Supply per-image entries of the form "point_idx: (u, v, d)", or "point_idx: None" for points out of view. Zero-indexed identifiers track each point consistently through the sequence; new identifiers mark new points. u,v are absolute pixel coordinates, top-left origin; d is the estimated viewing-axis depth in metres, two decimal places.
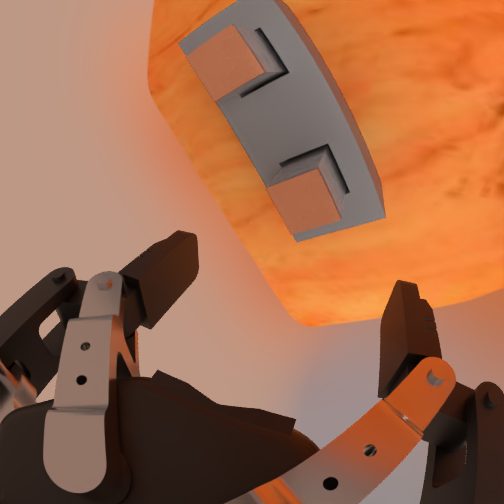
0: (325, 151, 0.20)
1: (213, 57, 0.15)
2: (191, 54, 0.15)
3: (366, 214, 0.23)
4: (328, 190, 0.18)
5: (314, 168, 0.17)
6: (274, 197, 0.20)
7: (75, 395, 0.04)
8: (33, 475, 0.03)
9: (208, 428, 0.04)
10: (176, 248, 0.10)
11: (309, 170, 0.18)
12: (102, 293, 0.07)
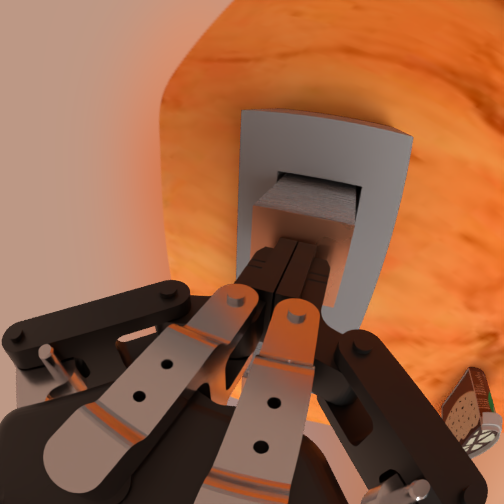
0: None
1: None
2: (264, 211, 0.11)
3: None
4: None
5: None
6: (244, 384, 0.17)
7: (122, 407, 0.04)
8: (11, 473, 0.02)
9: (208, 428, 0.04)
10: (290, 257, 0.10)
11: None
12: (242, 311, 0.07)
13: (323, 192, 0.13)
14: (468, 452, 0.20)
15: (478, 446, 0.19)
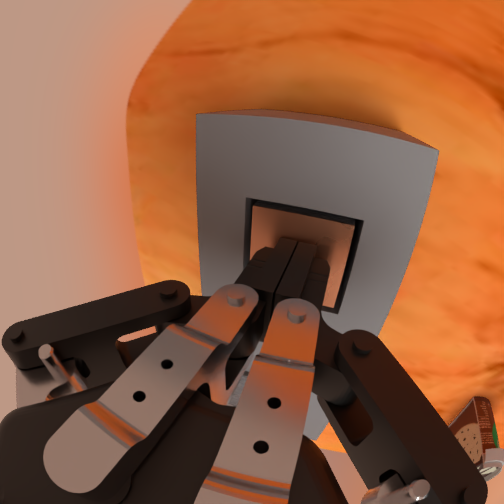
0: None
1: None
2: (264, 211, 0.11)
3: None
4: None
5: None
6: None
7: (122, 406, 0.04)
8: (11, 473, 0.02)
9: (208, 428, 0.04)
10: (290, 257, 0.10)
11: None
12: (242, 311, 0.07)
13: None
14: None
15: None
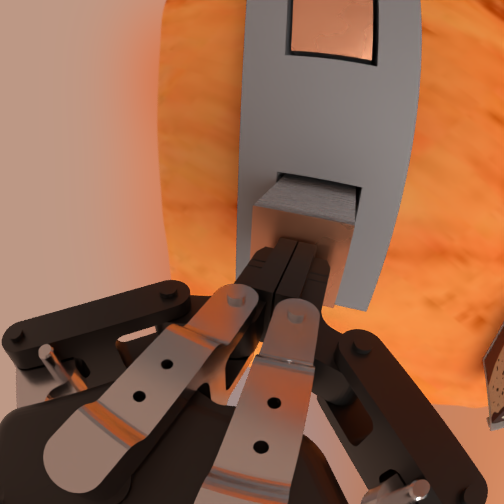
0: None
1: (326, 8, 0.09)
2: None
3: (346, 296, 0.17)
4: None
5: (348, 221, 0.10)
6: (256, 226, 0.11)
7: (122, 407, 0.04)
8: (11, 473, 0.02)
9: (208, 428, 0.04)
10: (290, 257, 0.10)
11: (339, 220, 0.10)
12: (242, 311, 0.07)
13: None
14: None
15: None
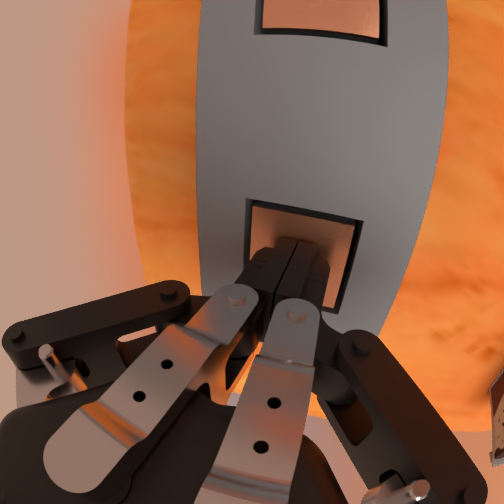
0: None
1: None
2: None
3: None
4: None
5: (348, 222, 0.10)
6: (256, 226, 0.11)
7: (122, 406, 0.04)
8: (12, 473, 0.02)
9: (208, 428, 0.04)
10: (290, 257, 0.10)
11: (339, 220, 0.10)
12: (242, 311, 0.07)
13: None
14: None
15: None
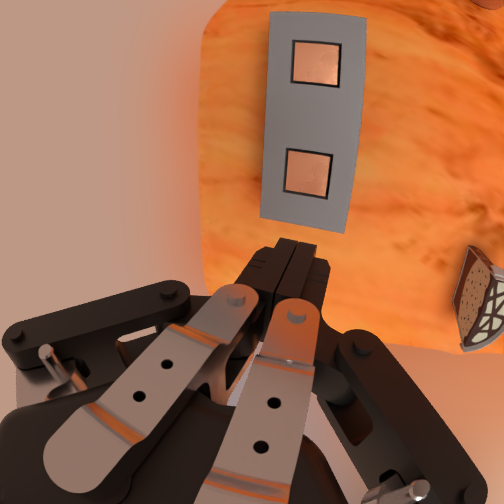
0: None
1: (312, 55, 0.20)
2: (300, 43, 0.20)
3: (330, 223, 0.28)
4: (328, 173, 0.26)
5: (327, 155, 0.25)
6: (290, 159, 0.26)
7: (122, 407, 0.04)
8: (12, 473, 0.02)
9: (208, 428, 0.04)
10: (290, 257, 0.10)
11: (323, 155, 0.25)
12: (242, 311, 0.07)
13: None
14: (490, 333, 0.25)
15: (498, 323, 0.24)
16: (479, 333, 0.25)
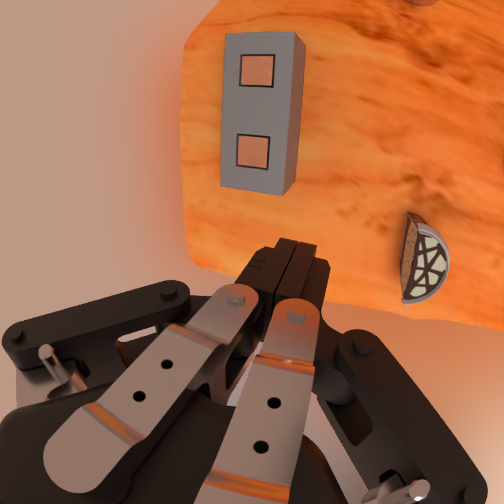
0: None
1: (254, 65, 0.29)
2: (246, 57, 0.29)
3: (271, 188, 0.37)
4: (267, 151, 0.35)
5: (266, 137, 0.34)
6: (240, 142, 0.35)
7: (122, 406, 0.04)
8: (12, 473, 0.02)
9: (208, 428, 0.04)
10: (290, 257, 0.10)
11: (264, 137, 0.34)
12: (241, 311, 0.07)
13: None
14: (428, 288, 0.34)
15: (435, 278, 0.33)
16: (416, 287, 0.35)
